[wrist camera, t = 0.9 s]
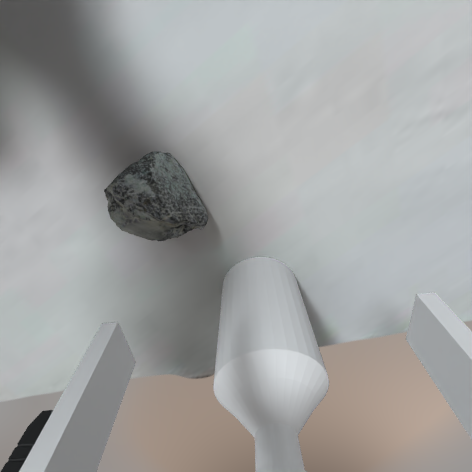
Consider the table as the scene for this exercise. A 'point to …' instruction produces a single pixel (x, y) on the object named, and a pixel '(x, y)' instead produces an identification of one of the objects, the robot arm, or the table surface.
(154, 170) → the stone
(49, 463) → the robot arm
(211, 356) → the table surface
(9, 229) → the table surface
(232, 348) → the bottle
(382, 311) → the table surface
